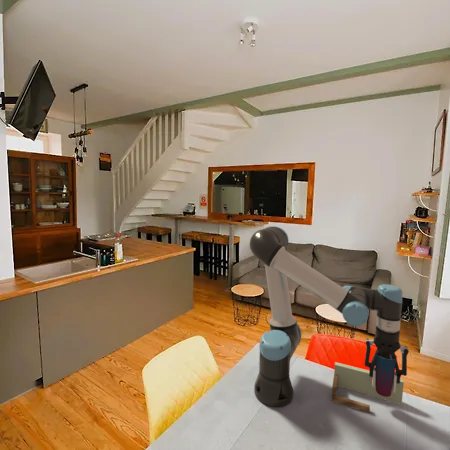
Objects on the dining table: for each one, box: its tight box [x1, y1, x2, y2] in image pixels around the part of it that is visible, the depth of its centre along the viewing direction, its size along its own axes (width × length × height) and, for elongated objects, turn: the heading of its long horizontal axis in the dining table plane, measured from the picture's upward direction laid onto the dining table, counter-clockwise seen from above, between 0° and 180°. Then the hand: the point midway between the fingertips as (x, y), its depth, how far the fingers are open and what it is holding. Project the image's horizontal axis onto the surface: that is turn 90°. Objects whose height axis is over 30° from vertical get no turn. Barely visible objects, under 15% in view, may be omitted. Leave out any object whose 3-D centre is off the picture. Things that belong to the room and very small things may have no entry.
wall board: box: [333, 361, 405, 405], centre depth 111 cm, size 24×2×9 cm, turn 64°
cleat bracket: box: [330, 373, 371, 414], centre depth 109 cm, size 13×10×5 cm
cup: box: [374, 350, 398, 397], centre depth 104 cm, size 7×7×15 cm
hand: (383, 387), depth 104 cm, fingers closed on cup, 6 cm apart
